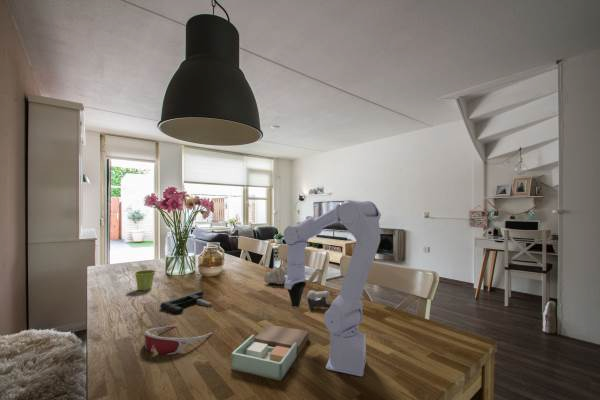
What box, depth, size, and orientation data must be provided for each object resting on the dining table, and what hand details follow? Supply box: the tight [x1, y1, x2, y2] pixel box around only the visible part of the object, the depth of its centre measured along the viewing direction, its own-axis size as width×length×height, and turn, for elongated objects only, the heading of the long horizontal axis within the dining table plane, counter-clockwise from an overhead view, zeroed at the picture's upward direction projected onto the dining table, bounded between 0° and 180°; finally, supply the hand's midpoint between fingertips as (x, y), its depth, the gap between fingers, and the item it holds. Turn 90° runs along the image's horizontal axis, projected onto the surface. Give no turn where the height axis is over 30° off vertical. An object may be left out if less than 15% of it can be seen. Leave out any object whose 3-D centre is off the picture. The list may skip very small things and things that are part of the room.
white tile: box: [246, 342, 268, 358], centre depth 76 cm, size 4×4×2 cm
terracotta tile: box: [270, 346, 290, 362], centre depth 73 cm, size 4×4×2 cm
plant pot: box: [134, 269, 157, 292], centre depth 137 cm, size 9×9×9 cm
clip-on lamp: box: [301, 289, 331, 310], centre depth 117 cm, size 12×6×18 cm
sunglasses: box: [144, 325, 213, 355], centre depth 84 cm, size 17×17×5 cm
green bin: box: [230, 334, 298, 382], centre depth 72 cm, size 14×11×4 cm
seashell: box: [264, 264, 287, 285], centre depth 148 cm, size 10×15×10 cm
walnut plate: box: [254, 324, 309, 356], centre depth 83 cm, size 14×10×2 cm
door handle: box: [159, 290, 212, 315], centre depth 115 cm, size 3×20×16 cm
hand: (295, 305), depth 86 cm, fingers closed
